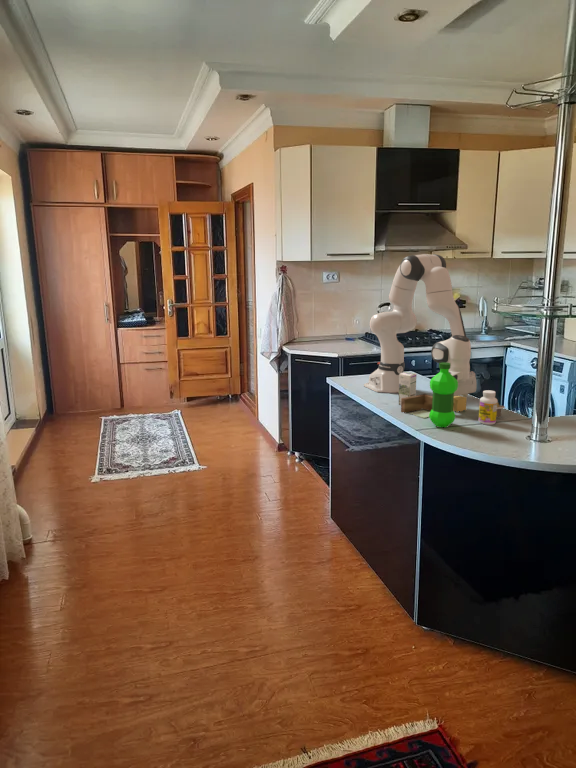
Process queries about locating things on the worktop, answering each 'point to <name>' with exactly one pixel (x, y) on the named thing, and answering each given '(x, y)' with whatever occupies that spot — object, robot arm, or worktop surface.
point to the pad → (421, 414)
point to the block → (459, 403)
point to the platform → (499, 410)
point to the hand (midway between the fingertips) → (456, 404)
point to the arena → (416, 403)
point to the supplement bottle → (488, 408)
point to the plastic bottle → (443, 396)
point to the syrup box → (407, 385)
